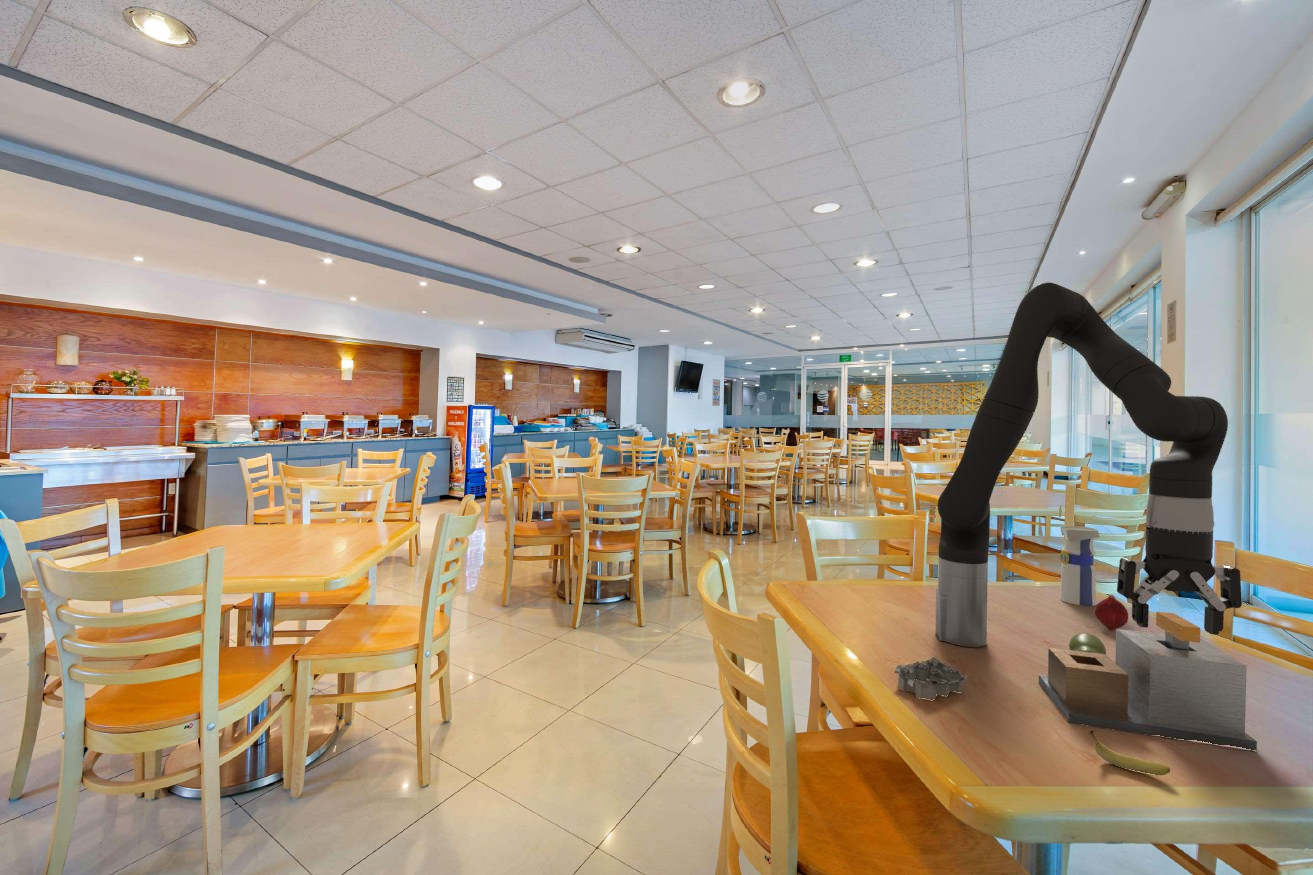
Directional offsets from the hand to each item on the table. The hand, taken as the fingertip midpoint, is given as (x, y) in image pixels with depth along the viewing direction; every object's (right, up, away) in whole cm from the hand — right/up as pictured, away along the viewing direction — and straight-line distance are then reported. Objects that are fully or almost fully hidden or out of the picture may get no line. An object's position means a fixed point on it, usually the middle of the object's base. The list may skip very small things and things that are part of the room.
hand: (1175, 629), depth 84 cm
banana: (-18, -15, -12) cm, 26 cm away
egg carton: (-33, -14, +10) cm, 37 cm away
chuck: (-5, -14, +2) cm, 15 cm away
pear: (+2, -14, +20) cm, 24 cm away
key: (0, -7, 0) cm, 7 cm away
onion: (+22, -14, +38) cm, 46 cm away
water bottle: (+30, -14, +59) cm, 67 cm away
